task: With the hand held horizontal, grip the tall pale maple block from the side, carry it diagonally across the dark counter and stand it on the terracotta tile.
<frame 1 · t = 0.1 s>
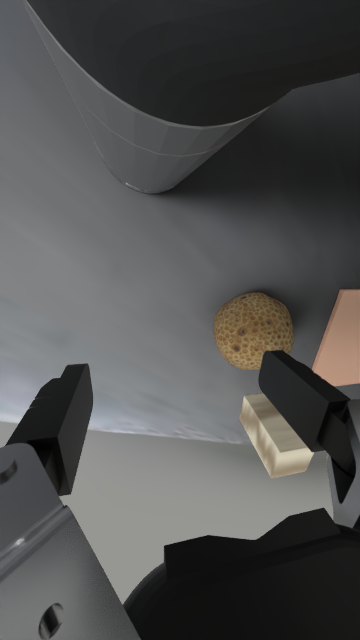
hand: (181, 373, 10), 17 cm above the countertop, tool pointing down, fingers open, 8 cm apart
maple block: (256, 405, 38), on the countertop
natural sponge: (232, 312, 29), on the countertop
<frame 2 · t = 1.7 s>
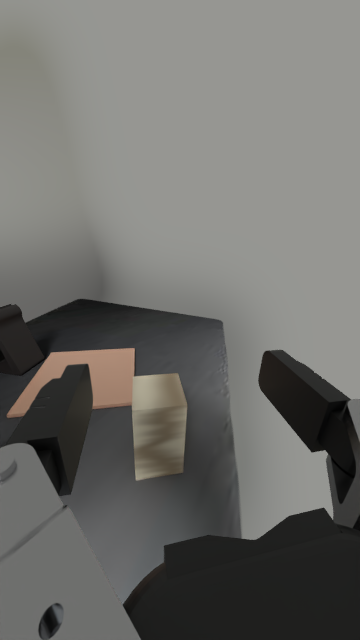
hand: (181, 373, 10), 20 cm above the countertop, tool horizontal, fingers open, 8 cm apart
phone stand: (14, 365, 44), on the countertop
maple block: (157, 454, 27), on the countertop
terracotta tile: (86, 376, 41), on the countertop
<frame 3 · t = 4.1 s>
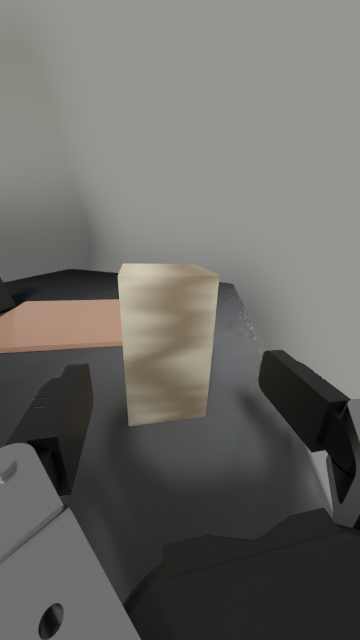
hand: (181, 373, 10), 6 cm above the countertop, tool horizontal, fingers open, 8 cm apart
maple block: (163, 394, 17), on the countertop
terracotta tile: (67, 320, 32), on the countertop
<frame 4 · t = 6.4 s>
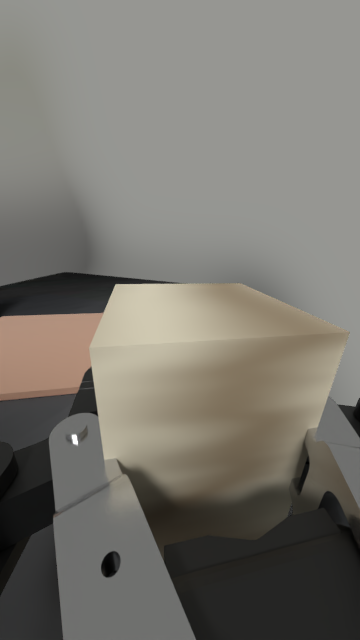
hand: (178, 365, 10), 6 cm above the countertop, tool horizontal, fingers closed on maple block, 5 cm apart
maple block: (185, 503, 10), on the countertop, touching gripper
terracotta tile: (48, 345, 24), on the countertop
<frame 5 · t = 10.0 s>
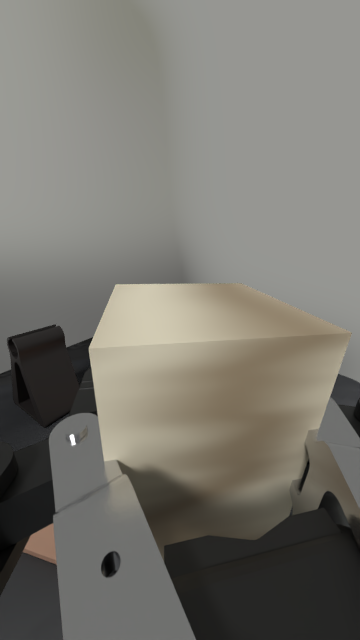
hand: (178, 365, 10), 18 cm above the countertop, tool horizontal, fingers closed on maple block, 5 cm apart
phone stand: (49, 403, 33), on the countertop
maple block: (186, 504, 10), point 12 cm above the countertop, touching gripper
terracotta tile: (120, 460, 25), on the countertop
when the fingers open (7 cm above the countertop, at t = 13.8 s): maple block stays where it is, resting on terracotta tile.
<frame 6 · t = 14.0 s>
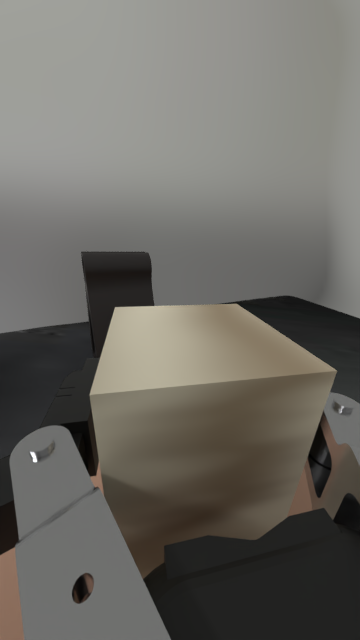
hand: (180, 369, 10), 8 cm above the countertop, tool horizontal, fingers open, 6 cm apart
phone stand: (124, 363, 25), on the countertop
maple block: (183, 518, 10), point 1 cm above the countertop, touching terracotta tile
terracotta tile: (184, 523, 11), on the countertop
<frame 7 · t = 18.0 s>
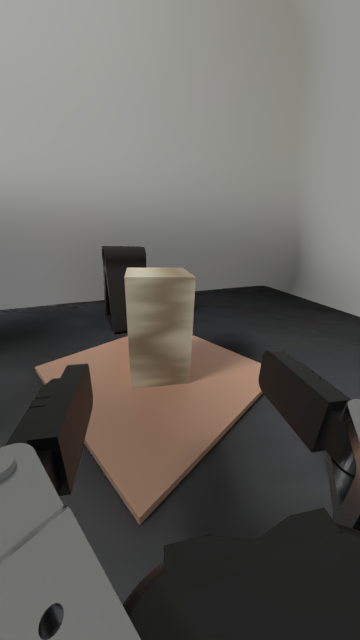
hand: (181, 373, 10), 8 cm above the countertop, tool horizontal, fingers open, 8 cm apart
phone stand: (128, 322, 36), on the countertop
maple block: (158, 369, 22), point 1 cm above the countertop, touching terracotta tile
terracotta tile: (159, 374, 23), on the countertop
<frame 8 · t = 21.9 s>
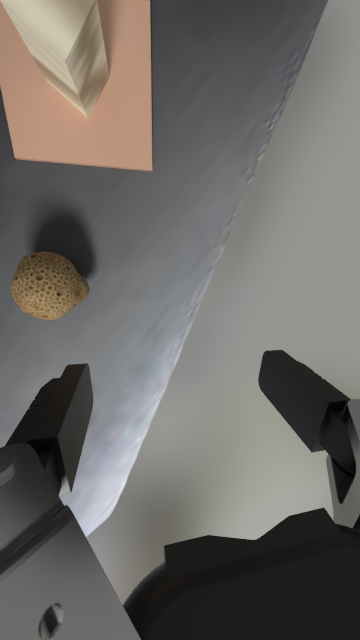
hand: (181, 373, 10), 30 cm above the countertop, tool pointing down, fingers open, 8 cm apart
maple block: (78, 79, 27), point 1 cm above the countertop, touching terracotta tile
natural sponge: (61, 278, 35), on the countertop
terracotta tile: (79, 81, 27), on the countertop
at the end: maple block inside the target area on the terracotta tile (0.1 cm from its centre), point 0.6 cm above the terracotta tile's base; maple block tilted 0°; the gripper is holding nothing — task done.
